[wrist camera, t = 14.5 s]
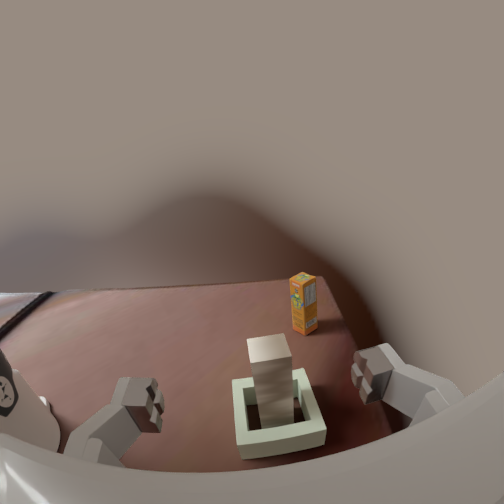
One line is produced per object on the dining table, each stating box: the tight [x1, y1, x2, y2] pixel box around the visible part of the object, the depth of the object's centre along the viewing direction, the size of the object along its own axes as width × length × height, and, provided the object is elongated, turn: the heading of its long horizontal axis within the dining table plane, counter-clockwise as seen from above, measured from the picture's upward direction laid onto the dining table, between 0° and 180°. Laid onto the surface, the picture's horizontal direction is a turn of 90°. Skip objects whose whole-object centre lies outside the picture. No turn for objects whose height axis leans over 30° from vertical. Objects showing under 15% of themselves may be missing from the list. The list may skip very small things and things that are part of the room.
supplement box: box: [289, 272, 318, 336], centre depth 44 cm, size 3×3×10 cm
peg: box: [247, 333, 294, 429], centre depth 26 cm, size 4×4×12 cm
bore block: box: [232, 368, 327, 460], centre depth 27 cm, size 9×10×4 cm
